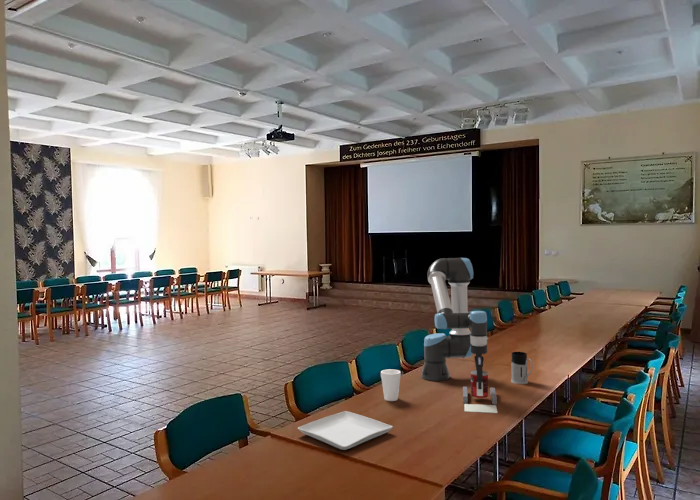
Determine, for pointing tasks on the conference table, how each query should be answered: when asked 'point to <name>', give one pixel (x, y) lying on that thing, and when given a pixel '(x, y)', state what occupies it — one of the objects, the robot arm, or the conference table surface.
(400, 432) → the conference table surface
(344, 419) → the square plate
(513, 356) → the white and black mug
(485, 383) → the canned food
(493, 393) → the chute
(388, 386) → the foam cup
